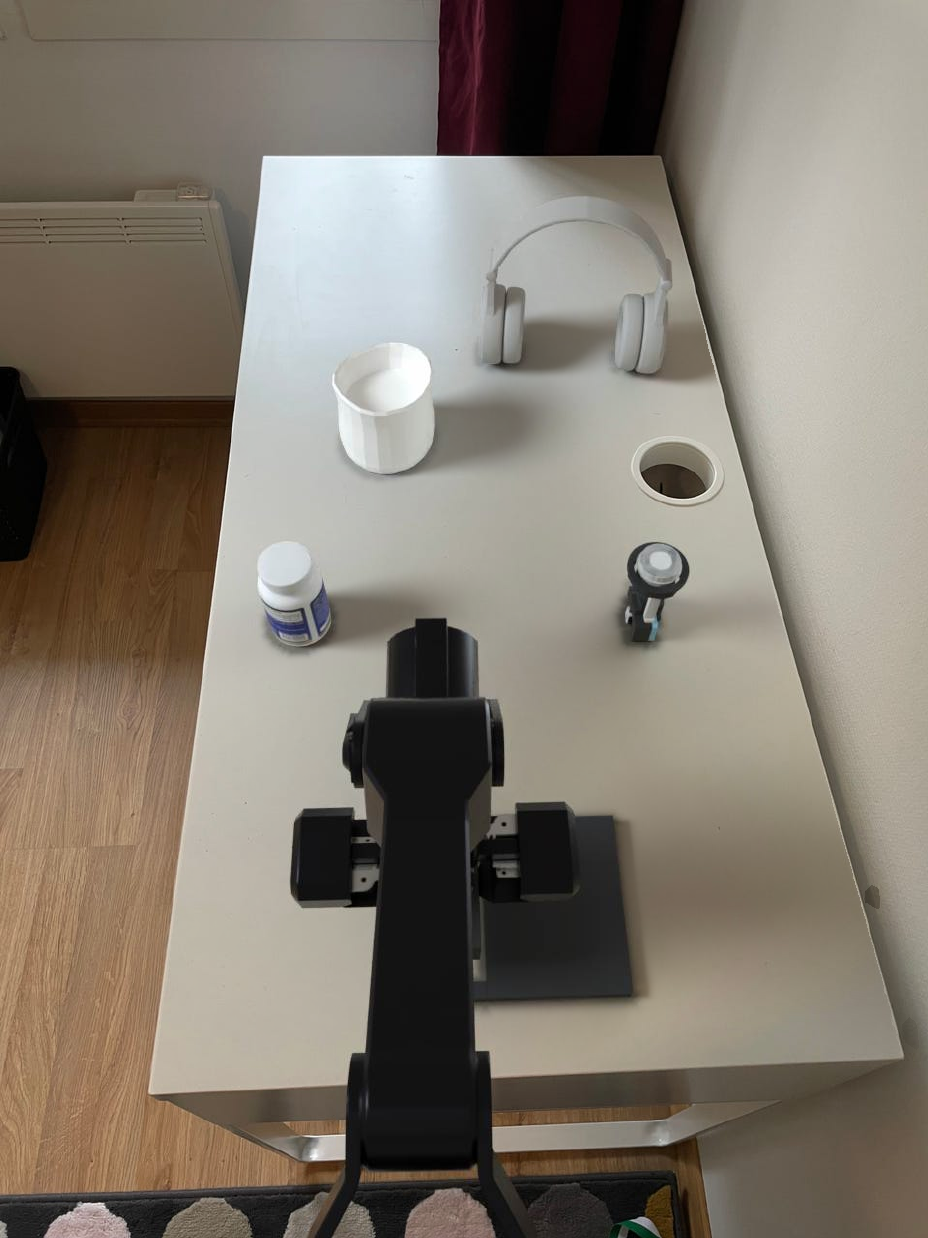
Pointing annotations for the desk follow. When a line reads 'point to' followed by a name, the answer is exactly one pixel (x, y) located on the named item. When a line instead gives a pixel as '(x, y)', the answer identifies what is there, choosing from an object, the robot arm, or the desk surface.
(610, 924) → the base pad
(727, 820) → the desk surface
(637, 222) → the headphones
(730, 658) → the desk surface
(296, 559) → the pill bottle
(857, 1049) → the desk surface
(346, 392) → the cup
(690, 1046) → the desk surface
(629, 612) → the push button
